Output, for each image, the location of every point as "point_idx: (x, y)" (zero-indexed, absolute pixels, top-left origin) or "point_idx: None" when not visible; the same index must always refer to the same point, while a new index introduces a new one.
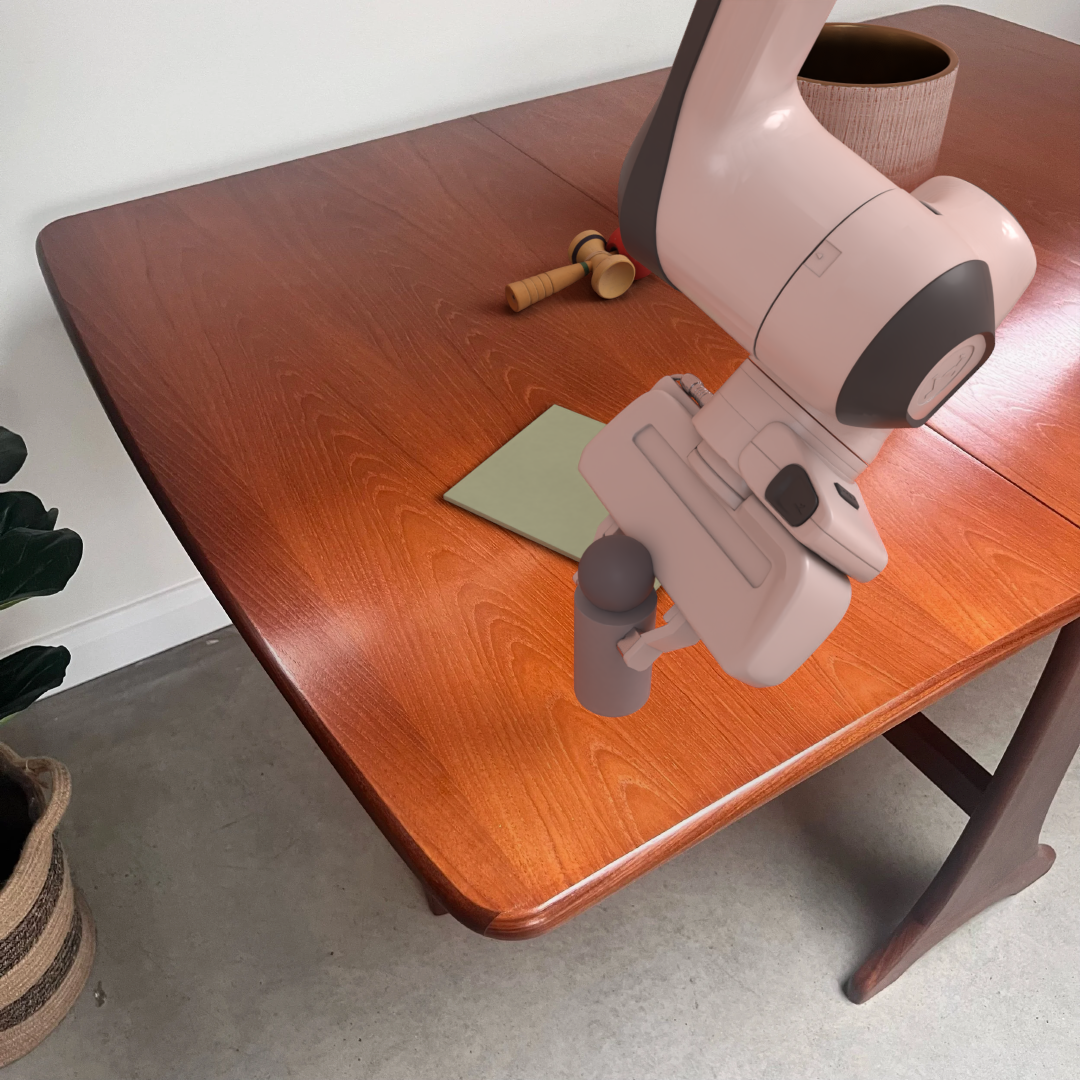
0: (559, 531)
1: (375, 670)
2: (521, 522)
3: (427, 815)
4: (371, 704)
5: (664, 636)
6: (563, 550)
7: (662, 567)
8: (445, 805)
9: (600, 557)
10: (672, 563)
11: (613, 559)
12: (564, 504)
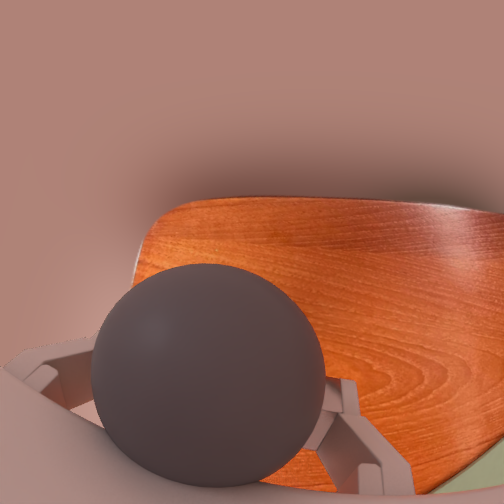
0: (474, 483)
1: (418, 255)
2: (500, 452)
3: (262, 213)
4: (387, 234)
5: (45, 347)
6: (456, 478)
7: (69, 438)
8: (262, 228)
9: (197, 286)
10: (36, 450)
11: (150, 307)
12: None
